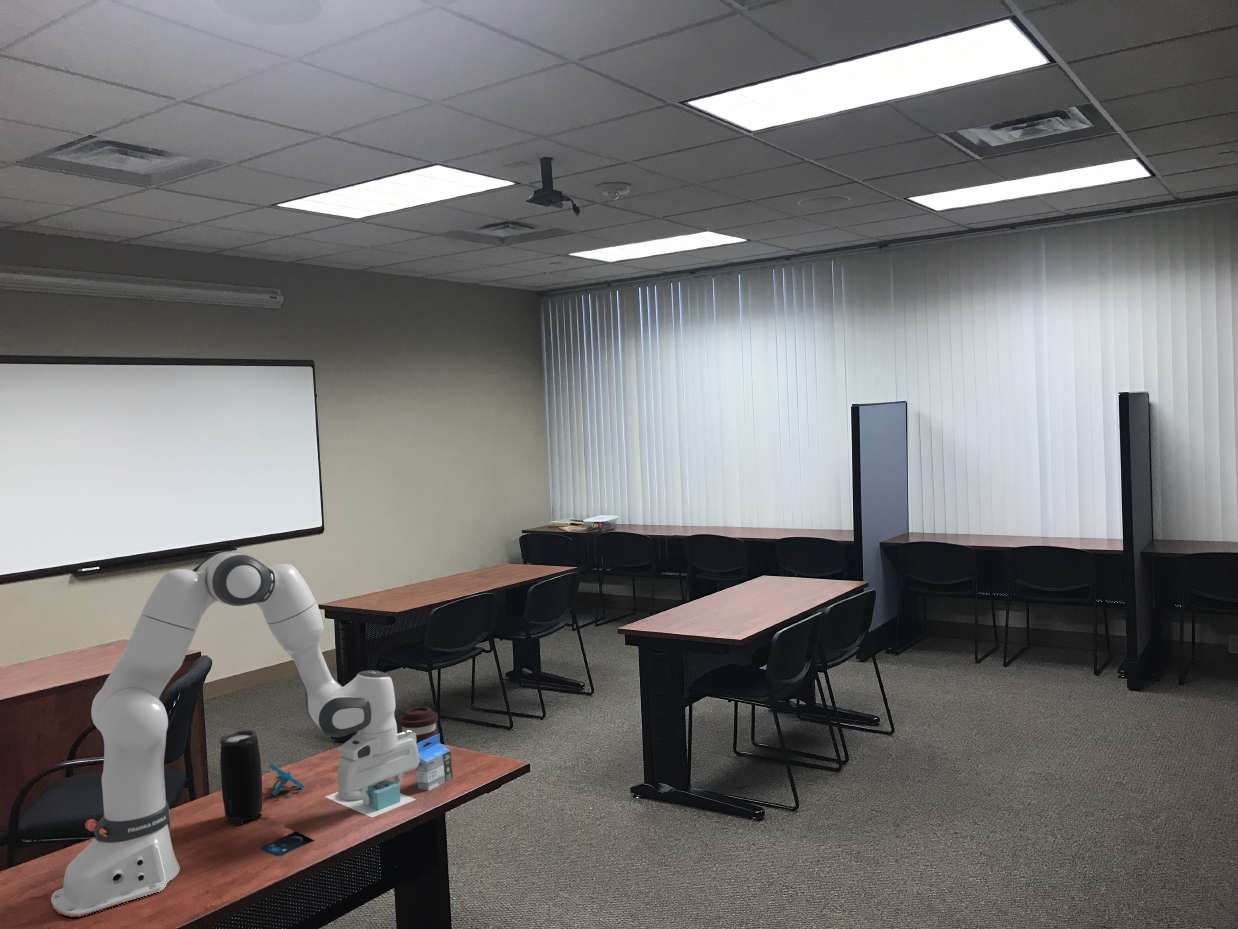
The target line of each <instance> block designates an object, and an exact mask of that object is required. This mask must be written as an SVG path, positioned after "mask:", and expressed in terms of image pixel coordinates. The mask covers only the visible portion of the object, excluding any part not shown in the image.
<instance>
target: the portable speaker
mask: <svg viewBox="0 0 1238 929" xmlns="http://www.w3.org/2000/svg"><path fill="white" fill-rule="evenodd" d="M219 743H220V754H219V755H220V758H219V760H220V763H219V765H220V767H219V768H220V780H221V781H220V782H221V794H222V795H221V796H222V802H223V809H224V814H225V818H226V822H227V824H228V825H231V826H241V825H242V824H243V823H244V822H246V821H249V820H251V819H255V820H260V819H261V817H262V816H263V813H261V812H263V776H262V762H261V761H262V760H261V753H260V746H259V745H260V744H259V741H258V734H256V732H255V731H254V730H252V729H244V730H243V729H242V730H239V731H237V732H235V733H231V734H229V735H223V736H221V737H220V741H219Z"/></svg>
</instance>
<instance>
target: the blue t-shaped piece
mask: <svg viewBox="0 0 1238 929" xmlns="http://www.w3.org/2000/svg"><path fill="white" fill-rule="evenodd" d="M269 768H270V769H272V770H273V771H274V772H276V775H277V776H276V777H275V779H276V780H275V781H274V783H273V785H272V786H271V787H270V789H272V790H273V792H272V795H274V796H277V794H278V793H279V792H280V790H281V789H282V788H283V786H286V784H287V783H288V782H289V781H290V782H291V783H293V784H294V785H296V786H297V787H299V788H300V789H301V790H303V789H305V787H306V786H305V785H303V783H302V782H301V783H300V782H299V781H298V780H297V779H295V778H293V775H292V773H291V772H289V771H287V772H286V771H285V772H284V771H283V770H281V769H279V768H278V767H277V766H275V765H274V764H270V765H269Z"/></svg>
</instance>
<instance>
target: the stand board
mask: <svg viewBox="0 0 1238 929" xmlns="http://www.w3.org/2000/svg"><path fill="white" fill-rule="evenodd" d="M382 788H385V781H380V782H378V783H377V789H378V790H380V789H382ZM325 798H326V799H328V800H330V801H334V802H335V803H337V804H339V805H343V806H344V807H346V808H349V809H352V810H354V811H356V812H358V813H361V814H363V815H366V816H367V817H370V818H374V817H377V816H379V815H382V814H385V813H387V812H389V811H391V810H392V811H393V810H395V809H396V808H400V807H402V806H404V805H407V804H408V803H412V802H414V801H416V800H417V798H415V797H412V796H408V795H406V794H404V793H402V792H400V802H398V803H396V804H393V805H391V806H389V807H386V808H384V809H381V810H379V811H378V810H376V809H373V808H371V807H369V806H366V805H364V804H363V797H362V796H361V794H360V793H359V792H358V790H356V791H354V792H351V793H346V792H344V791H342V790H341V789H340V788H339V790H338V791H336V792H334V793H331V794H328V795H326V796H325Z"/></svg>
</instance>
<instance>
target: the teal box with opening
mask: <svg viewBox="0 0 1238 929" xmlns="http://www.w3.org/2000/svg"><path fill="white" fill-rule="evenodd" d="M383 781H385V788H382V789H380V790H378V789H377V783H375V784H372V785H370V786H368V791H366V793H367V794H368V795H371V796H372V801H373V802H372V803H371V804H369V805H366V806H369V807H371V808H373V809H376V810H378V811H379V810H381V809H384V808H386V807H389V806H391V805H393V804H396V803H398V802H400V793H401V792H400V790H401V789H400V788H401V787H399V786H400V785H398V784H396V783H393V782H394V781H390V780H388V779H386V780H383Z"/></svg>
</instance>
